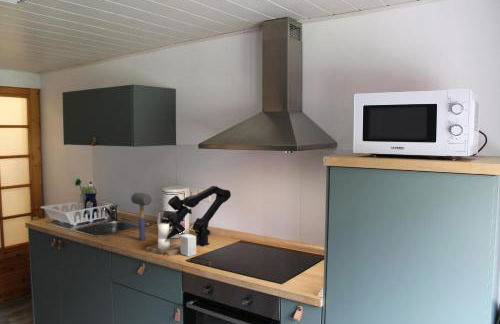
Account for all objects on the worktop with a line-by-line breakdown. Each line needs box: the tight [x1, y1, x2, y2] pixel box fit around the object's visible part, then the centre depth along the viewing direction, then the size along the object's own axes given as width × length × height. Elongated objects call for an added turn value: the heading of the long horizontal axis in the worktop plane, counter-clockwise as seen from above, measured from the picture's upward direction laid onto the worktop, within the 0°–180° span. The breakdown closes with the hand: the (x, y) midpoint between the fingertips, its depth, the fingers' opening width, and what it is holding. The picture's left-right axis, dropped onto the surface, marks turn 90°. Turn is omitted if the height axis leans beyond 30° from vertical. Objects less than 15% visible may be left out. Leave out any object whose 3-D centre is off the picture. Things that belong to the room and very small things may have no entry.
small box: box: [179, 233, 197, 257], centre depth 225 cm, size 8×6×10 cm
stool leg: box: [157, 222, 171, 251], centre depth 229 cm, size 7×7×16 cm
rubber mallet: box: [130, 192, 152, 241], centre depth 255 cm, size 12×8×30 cm, turn 54°
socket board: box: [145, 242, 181, 257], centre depth 233 cm, size 18×15×2 cm
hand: (163, 237), depth 228 cm, fingers open, 9 cm apart
